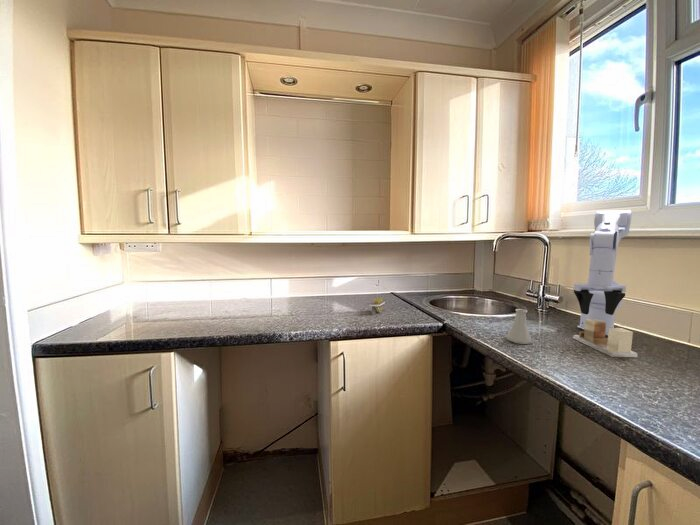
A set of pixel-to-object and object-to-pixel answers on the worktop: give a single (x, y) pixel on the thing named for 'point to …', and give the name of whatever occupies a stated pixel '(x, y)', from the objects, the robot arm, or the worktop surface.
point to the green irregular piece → (377, 305)
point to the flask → (519, 329)
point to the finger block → (594, 329)
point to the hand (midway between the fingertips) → (596, 313)
